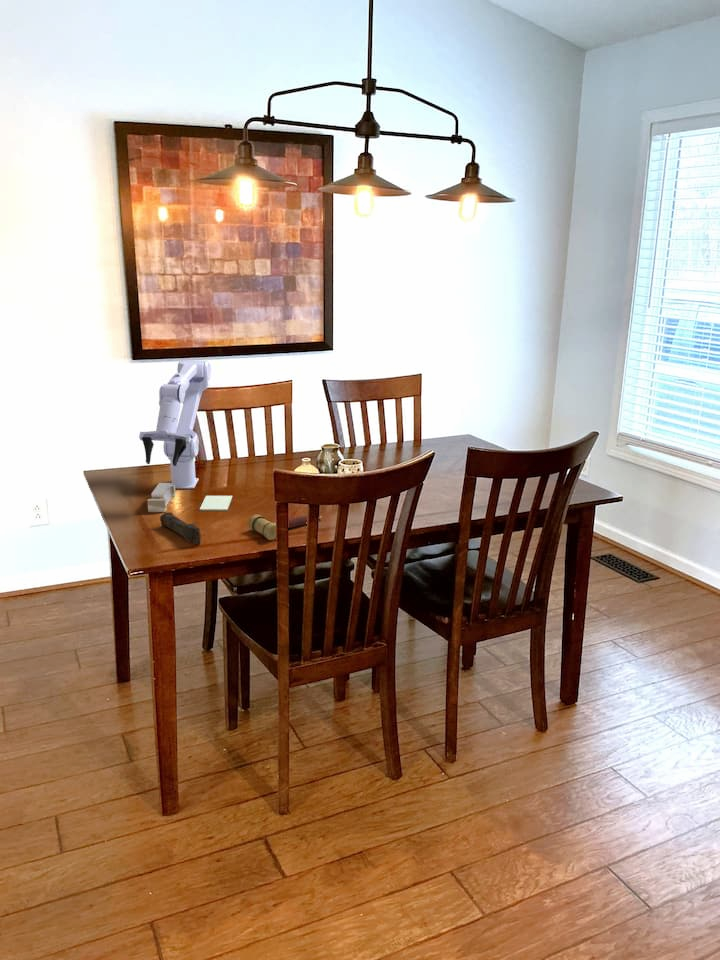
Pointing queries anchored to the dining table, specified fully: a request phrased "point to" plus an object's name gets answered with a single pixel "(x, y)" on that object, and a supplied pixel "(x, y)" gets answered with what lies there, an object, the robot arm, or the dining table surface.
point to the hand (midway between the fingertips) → (160, 463)
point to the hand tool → (181, 527)
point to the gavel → (272, 525)
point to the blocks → (159, 503)
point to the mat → (216, 503)
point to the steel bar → (162, 492)
